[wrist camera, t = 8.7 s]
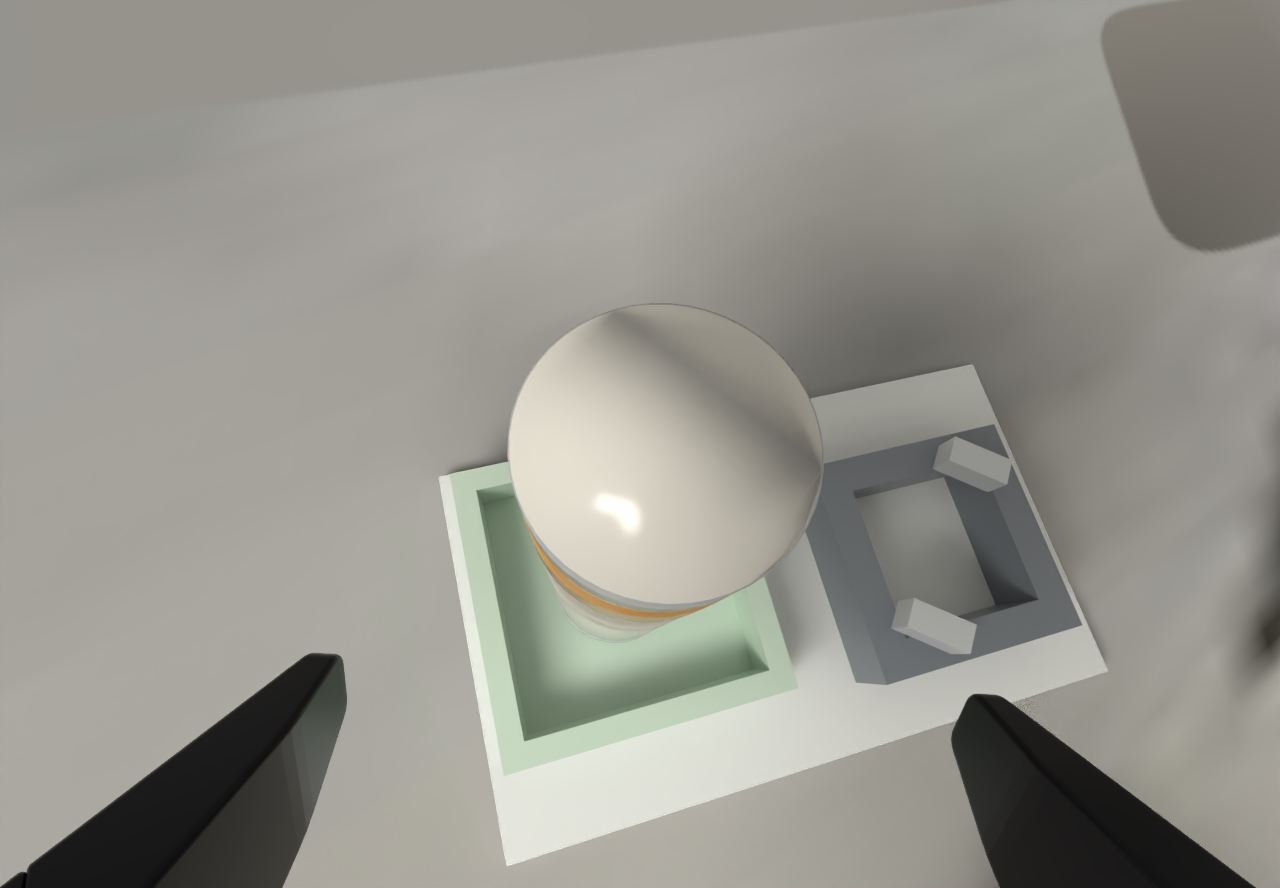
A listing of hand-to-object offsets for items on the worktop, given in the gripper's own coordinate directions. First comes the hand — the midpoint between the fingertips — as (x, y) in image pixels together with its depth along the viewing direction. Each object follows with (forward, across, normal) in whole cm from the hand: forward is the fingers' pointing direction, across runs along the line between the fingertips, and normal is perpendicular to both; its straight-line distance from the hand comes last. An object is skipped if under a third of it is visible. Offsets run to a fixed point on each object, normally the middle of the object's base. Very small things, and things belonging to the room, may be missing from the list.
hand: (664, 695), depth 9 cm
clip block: (+12, -10, +6) cm, 17 cm away
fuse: (+11, 0, +6) cm, 12 cm away
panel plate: (+12, -6, +6) cm, 14 cm away
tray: (+11, 0, +7) cm, 13 cm away
